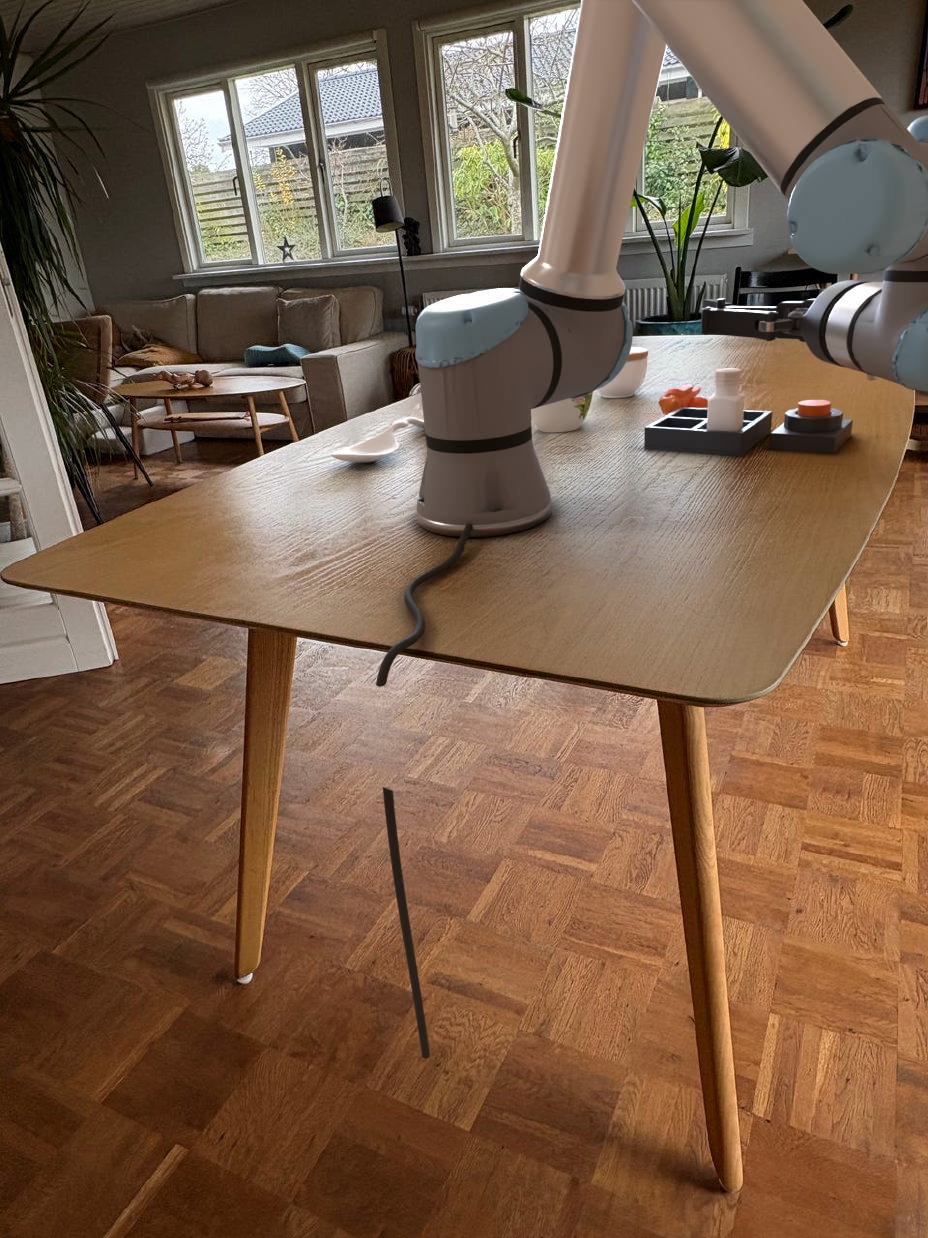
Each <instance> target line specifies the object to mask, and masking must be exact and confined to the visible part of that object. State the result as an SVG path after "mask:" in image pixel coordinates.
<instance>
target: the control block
mask: <svg viewBox="0 0 928 1238" xmlns="http://www.w3.org/2000/svg"><path fill="white" fill-rule="evenodd" d="M797 413H798V407H797V408H792V409H789V410H787V411H786V412H785V413H784V421H783V423H782V424H780V425H779V426H778V427H776V428H775V429H774V430H773V431H771V433H770V436H769V448H768V449H769V450H773V451H787V452H801V453H802V452H803V453H814V454H815V453H816V454H830V455H834V454H835V453H836V452H838V450H839V449H840V448H841V447H842V446H843V444H844V443H846V441H847V440H848V439H849V438H850V437H851V435H852V430H853V422H854V419H847V418H845V419H844V412H843V411H841V410H840V409H838V408H832V407H831V410H830V415H827V416H817V417H810V416H801V415H797Z"/></svg>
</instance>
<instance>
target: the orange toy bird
mask: <svg viewBox="0 0 928 1238" xmlns="http://www.w3.org/2000/svg"><path fill="white" fill-rule="evenodd" d="M701 390H702V387H701V386H699V385H693V384H690V383H688V382H687V383H685V384H683V385H681V386H679V387H669V388H667V389H666V390H665V392H664V394H662V395H661V396H660V397H659V400H658V402H657V403H658V406H659V407H660V411H661V412H662V413H663V415H664V416H666V415H668V414H670V413H671V412H673V411H675V410H677V409H679V408H681V407H688V408H708V398H706V397H704V396H702V395H699V394H700V392H701Z"/></svg>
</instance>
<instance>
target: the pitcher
mask: <svg viewBox="0 0 928 1238" xmlns="http://www.w3.org/2000/svg"><path fill="white" fill-rule="evenodd" d="M593 393H594V391H593V392H591V393H589V394H588V395H585V396H582V397H578V398H573V399H571V398H568V399H565V400H561V401H558V402H554V403H551V404H548V405H544V406H541V407H537V408H534V409H531V422H532V423H533V424H534V425H535V427H536V428H537V430H538V431H540V432H544V433H567V432H573V431H575V430H578V429H579V428H581V425H582V424H583V423H584V421H585V420H586V417H587V416H588V413H589V410H590V407H591V404H592V399H593Z"/></svg>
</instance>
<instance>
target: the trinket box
mask: <svg viewBox="0 0 928 1238" xmlns="http://www.w3.org/2000/svg"><path fill="white" fill-rule="evenodd" d="M648 356H649V350H648V348H645V347H641V346H631V350H630V353H629V356H628V359H627V361H626V363H625V365H624V367H623V368H622V370H621V371H620V373H619V374H618V375H617V376H616V377H615V378H614V379H613V380H612V381H611V382H609V383H608V384H607V385H605V386H603V387H602V388H599V389H597V390H596V392H597V393H599V394H600V397H601V398H603V399H624V398H629V397H633V396H635V393H636V392H637V391H638V390H639V389H640V388H641V386H642V385H643V383H644V381H645V378H646V374H647V369H648Z"/></svg>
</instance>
